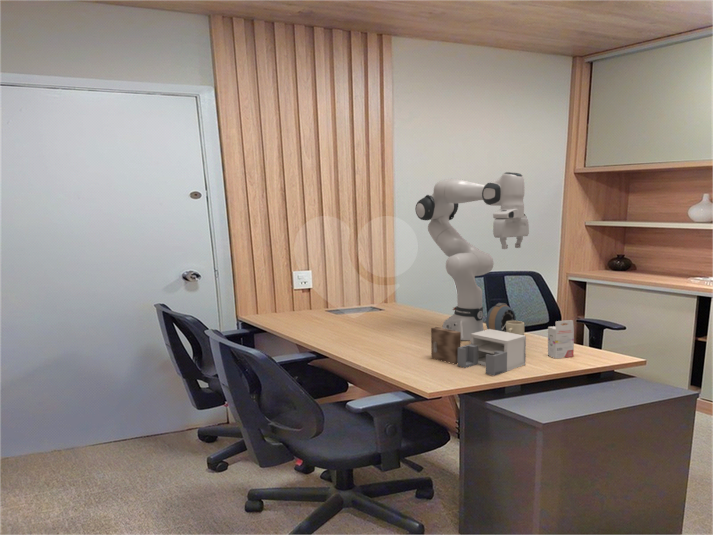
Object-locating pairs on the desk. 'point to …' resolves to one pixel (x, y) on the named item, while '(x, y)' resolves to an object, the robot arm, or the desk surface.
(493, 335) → the cabinet
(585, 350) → the desk surface
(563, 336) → the ink cartridge box
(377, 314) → the desk surface
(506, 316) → the alarm clock
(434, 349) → the wooden block
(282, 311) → the desk surface
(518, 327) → the character mug
